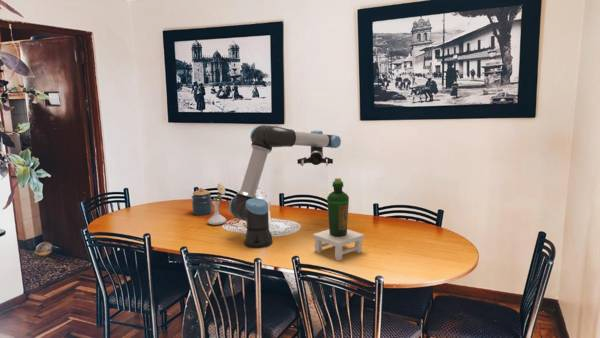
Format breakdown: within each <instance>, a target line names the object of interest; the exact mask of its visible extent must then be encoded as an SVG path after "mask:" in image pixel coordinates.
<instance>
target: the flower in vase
mask: <svg viewBox="0 0 600 338" xmlns="http://www.w3.org/2000/svg"><path fill="white" fill-rule="evenodd" d="M216 188H217V191H218V192H217V197H215V196H213V200H214V201H211V204H213V205H212V206H213V207H214V208H213V209H214V213H213V214H212V215H211V217H209V218H208V219H207V223H208V225H209V224H210V225H214V226H216V225H217V226H218V225H223V224H225V223H226V222H227V219H226V218H225V216H223V215H221V214H220V212H219V205H220V203H221V201H220V200H218V199H222V198H223V196H225V194H226V189H225V187H224V185H223V184H222V183H217V185H216Z"/></svg>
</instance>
